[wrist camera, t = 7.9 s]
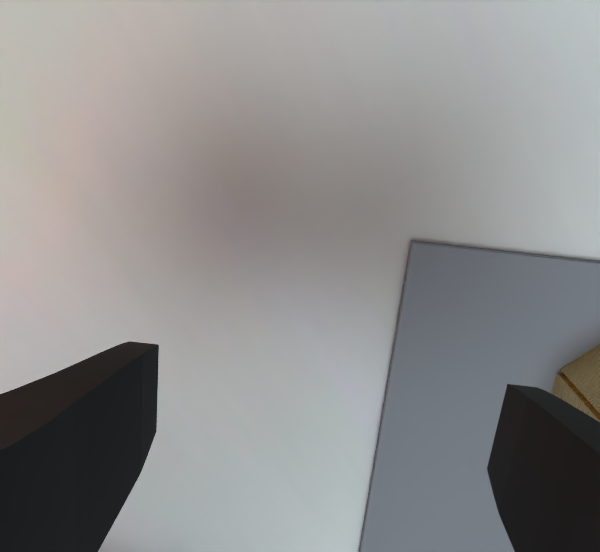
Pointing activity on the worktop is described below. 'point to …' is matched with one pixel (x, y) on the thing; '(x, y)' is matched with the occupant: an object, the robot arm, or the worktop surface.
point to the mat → (467, 386)
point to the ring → (581, 383)
